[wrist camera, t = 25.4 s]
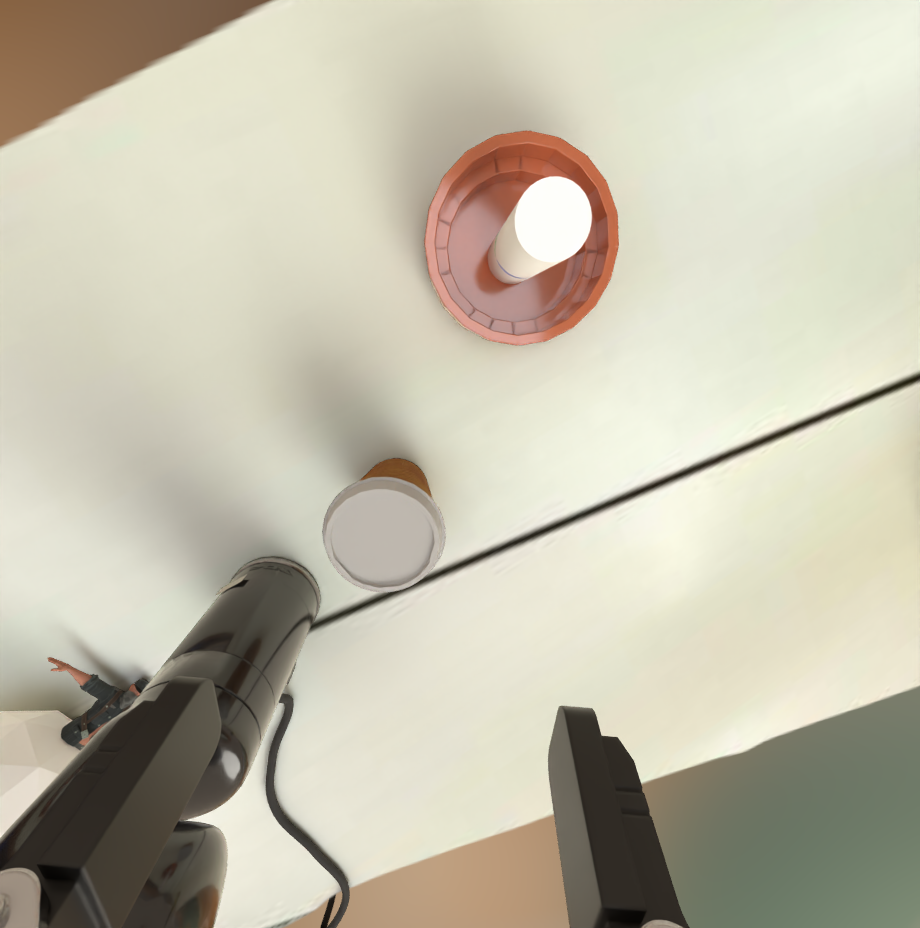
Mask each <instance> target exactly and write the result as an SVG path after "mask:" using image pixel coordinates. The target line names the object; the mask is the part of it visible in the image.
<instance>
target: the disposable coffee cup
mask: <svg viewBox="0 0 920 928" xmlns="http://www.w3.org/2000/svg"><path fill="white" fill-rule="evenodd" d="M322 532H323V542H324V545H325V548H326V551H327V554H328V556H329V559H330V561H331V563H332V564H333V566H334V567H335V569H336V570H337V571H338V573H339V574H341V575H342V576H343V577H344V578H345V579H346V580H347V581H349V582H351V583H352V584H354V585H356V586H358V587H360V588H363V589H367V590H370V591H376V592H391V591H398V590H401V589H404V588H407V587H409V586H411V585H413V584H415V583H417V582H418V581H419V580H421V579H422V578H423V577H424V576H425V575H426V574H427V573H429V572H430V571H431V570H432V569H433V567H434V566H435V565H436V563H437V562H438V561H439V559H440V557H441V555H442V552H443V549H444V545H445V538H446V533H445V524H444V520H443V517H442V514H441V512H440V509H439V508H438V506H437V505H436V503H435V502H434V500H433V499H432V496H431V492H430V490H429V486H428V483H427V479H426V477H425V475H424V473H423V472H422V471H421V469H420V468H419V467H418V466H417V465H415V464H413V463H412V462H410V461H407V460H404V459H399V458H393V459H387V460H384V461H382V462H380V463H378V464H377V465H375V466H374V467H373V468H372V469H371V470H370V471H369V472H368V473H367V474H366V475H365V476H364V477H363V478H362V479H361V480H360V481H358V482H356V483H354V484H352V485H350V486H348V487H347V488H346V489H344V490H343V491H342V492H340V493H339V494H338V495H337V496H336V497H335V499H334V500H333V502H332V503H331V504H330V506H329V508H328V510H327V513H326V515H325V518H324V523H323V531H322Z"/></svg>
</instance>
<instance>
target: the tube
mask: <svg viewBox="0 0 920 928" xmlns="http://www.w3.org/2000/svg"><path fill="white" fill-rule="evenodd" d="M591 221H592V213H591V207H590V203H589V200H588V198H587V196H586V194H585V193H584V191H583V190H582V189H581V188H580V186H578V185H577V184H576V183H575V182H573V181H571V180H569V179H567V178H563V177H559V176H554V177H547V178H543V179H541V180H539V181H537V182H535V183H534V184H532V185H531V186H530V187H529V188H528V189H527V190H526V191H525V192H524V194H523V195H522V197H521V198H520V200H519V201H518V203H517V205H516V206H515V208H514V209H513V211H512V212H511V214H510V215H509V217H508V218H507V220H506V222H505V223H504V225H503V226H502V228H501V229H500V231H499V232H498V234H497V236H496V237H495V239H494V240H493V242H492V244H491V245H490V248H489V250H488V265H489V268H490V271H491V272H492V274H493V275H494V276H495V278H496V279H498V280H499V281H501V282H503V283H506V284H517V283H520V282H523V281H525V280H527V279H529V278H531V277H533V276H534V275H536V274H538V273H540V272H542V271H544V270H546V269H548V268H550V267H552V266H554V265H556V264H558V263H560V262H562V261H564V260H566V259H568V258H569V257H571V256H572V255H574V254H575V253H576V252H577V251H578V250H579V249H580V248H581V247H582V246H583V244H584V242H585V241H586V239H587V237H588V234H589V232H590V227H591Z"/></svg>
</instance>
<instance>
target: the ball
mask: <svg viewBox="0 0 920 928" xmlns="http://www.w3.org/2000/svg"><path fill="white" fill-rule="evenodd" d="M48 661H49V662H51V663H54V664H56V665H57V666H58V668H57V669H51V671H65V670H67V671H68V672H69V673H70V674H71V675H72V676H73V677H74V678H75V680H76V681H77V682H78V683H79V684H80V687H81V689H82V690H84V691H85V692H86V691H87V693H89V694H90V695H92V696H95V697H96V698H97V699H98V700H97V701H96V702H95V704H94V705H93V706H92V708H91V709H89V710H88V711H87V712H85V713H84V714H83V715H82V716H80V717H78V718H76V719H74V720H71V719H70V718H68V717H67V716H66V715H64V714H63V713H61V712H60V711H58V710H53V711H0V837H1V836H2V835H3V834H4V833H5V832H6V831H7V829H8V828H9V827H10V826H11V825H12V824H13V823H14V822H15V821H16V820H17V819H18V818H19V816H20V815H21V814H22V813H23V812H24V811H25V810H26V809H27V808H28V807H29V806H30V805H31V804H32V803H33V801H34V800H35V799H36V798H37V797H38V796H39V795H40V794H41V793H42V792H43V791H44V790H45V789H46V788H47V786H48V785H49V784H50V783H51V782H52V781H53V780H54V779H55V778H56V777H57V776H58V775H59V774H60V772H61V771H62V770H63V769H64V768H65V767H66V766H67V765H68V764H69V763H70V762H71V760H72V759H73V758H74V757H75V756H76V755H77V754H78V753H79V752H80V751H81V749H82V748H83V747H84V746H85V745H86V744H87V743H88V742H89V740H90V739H91V738H92V737H93V736H94V735H95V734H96V733H97V732H98V731H99V730H100V729H101V728H102V727H103V726H104V725H105V724H106V723H108V722H109V721H110V720H111V719H113V718H114V717H116V716H117V715H119V714H121V713H122V712H124V711H126V710H127V709H128V708H129V707H130V706H131V704H132V703H133V702H134V701H135V700H136V698H137V697H138V696H139V695H140V693H141V692H142V691H143V690H144V689H145V687H146V686H147V685H148V684H149V682H148V681H146V680H144V679H139V680H138V681H137V682H135V684H132V685H131V686H130V688H129V690H128V691H127V692H124V691H122V690H120V689H118V688H117V687H115V686H110V685H109V684H107V683H105V682H104V681H102V680H101V679H99V677H98V675H94V674H92V675H89V674H86V673H84V672H82V671H79V670H77V669H75V668H73V667H72V666H70V665H69V664H66V663H64V662H62V661H59V660H56V659H54V658H50V657H49V658H48Z"/></svg>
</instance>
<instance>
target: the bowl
mask: <svg viewBox="0 0 920 928" xmlns="http://www.w3.org/2000/svg"><path fill="white" fill-rule="evenodd" d="M554 176H559V177H563V178H567V179H569V180H571V181H573V182H575V183H576V184H577V185H578V186H580V188H581V189H582V190H583V191H584V193H585V194H586V196H587V198H588V200H589V203H590V207H591V213H592V221H591V227H590V232H589V234H588V237H587V239H586V241H585V242H584V244H583V246H582V247H581V248H580V249H579V250H578V251H577V252H576V253H575V254H574V255H572V256H571V257H569V258H568V259H566V260H564V261H562V262H560V263H558V264H556V265H554V266H552V267H550V268H548V269H546V270H544V271H542V272H540V273H538V274H536V275H534V276H533V277H531V278H529V279H527V280H525V281H523V282H520V283H517V284H506V283H503V282H501V281H499V280H498V279H496V278H495V276H494V275H493V274H492V272H491V271H490V268H489V265H488V250H489V248H490V245H491V244H492V242H493V240H494V239H495V237H496V236H497V234H498V232H499V231H500V229H501V228H502V226H503V225H504V223H505V222H506V220H507V218H508V217H509V215H510V214H511V212H512V211H513V209H514V208H515V206H516V205H517V203H518V201H519V200H520V198H521V197H522V195H523V194H524V192H525V191H526V190H527V189H528V188H529V187H530V186H531V185H532V184H534V183H535V182H537V181H539V180H541V179H543V178H547V177H554ZM424 245H425V252H426V258H427V265H428V271H429V277H430V281H431V284H432V286H433V288H434V290H435V292H436V294H437V296H438V298H439V300H440V302H441V305H442V306H443V308H444V309H445V310H446V311H447V312H448V313H449V314H450V315H451V316H452V317H453V318H454V319H455V321H456V322H457V323H458V324H459V325H460V326H461V327H463V328H465V329H467V330H469V331H470V332H472V333H474V334H476V335H478V336H480V337H481V338H483V339H486V340H490V341H495V342H500V343H506V344H511V345H525V344H531V343H538V342H544V341H548V340H550V339H552V338H554V337H556V336H558V335H560V334H562V333H564V332H566V331H568V330H570V329H572V328H573V327H574V326H575V325H576V324H577V323H578V322H579V321H580V320H581V319H582V318H584V317H585V316H586V315H587V314H588V313H589V312H590V311H591V310H592V309H593V308H594V307H595V306H596V304H597V302H598V300H599V299H600V297H601V295H602V293H603V292H604V290H605V288H606V286H607V285H608V283H609V281H610V279H611V276H612V272H613V268H614V264H615V260H616V255H617V251H618V246H619V239H618V214H617V210H616V207H615V204H614V202H613V199H612V196H611V193H610V190H609V187H608V184H607V182H606V180H605V179H604V177H603V176H602V175H601V173H600V172H599V171H598V169H597V168H596V167H595V165H594V164H593V163H592V161H591V160H590V159H589V158H588V156H587V155H585V154H584V153H582V152H581V151H579V150H578V149H576V148H575V147H573V146H572V145H570V144H569V143H567V142H566V141H564V140H563V139H561V138H559V137H555V136H551V135H546V134H542V133H537V132H533V131H520V132H514V133H507V134H500V135H496V136H493V137H491V138H489V139H488V140H486V141H484V142H482V143H480V144H479V145H477V146H475V147H473V148H471V149H470V150H468V151H467V152H465V153H464V154H463V155H462V157H461V158H460V159H459V160H458V161H457V162H456V163H455V164H454V165H453V167H452V168H451V169H450V170H449V171H448V172H447V173H446V174H445V175H444V177H443V178H442V180H441V183H440V185H439V187H438V189H437V191H436V194H435V196H434V198H433V200H432V202H431V205H430V207H429V210H428V218H427V225H426V232H425V239H424Z"/></svg>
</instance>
